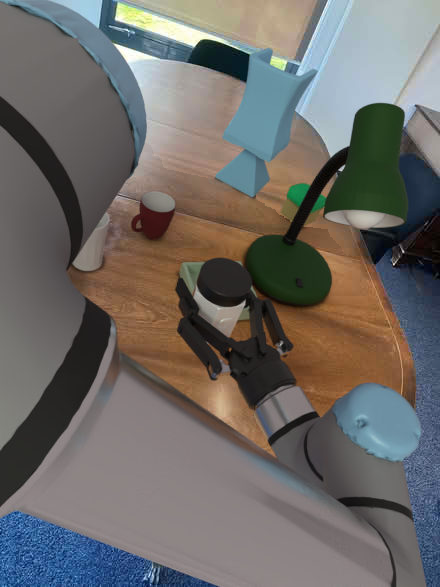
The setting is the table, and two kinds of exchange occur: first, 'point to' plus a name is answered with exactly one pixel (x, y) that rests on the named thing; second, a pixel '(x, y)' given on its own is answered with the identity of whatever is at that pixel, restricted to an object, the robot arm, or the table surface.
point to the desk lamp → (337, 208)
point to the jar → (222, 292)
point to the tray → (190, 276)
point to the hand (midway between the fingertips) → (205, 279)
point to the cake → (295, 200)
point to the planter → (262, 122)
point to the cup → (93, 247)
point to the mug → (154, 214)
